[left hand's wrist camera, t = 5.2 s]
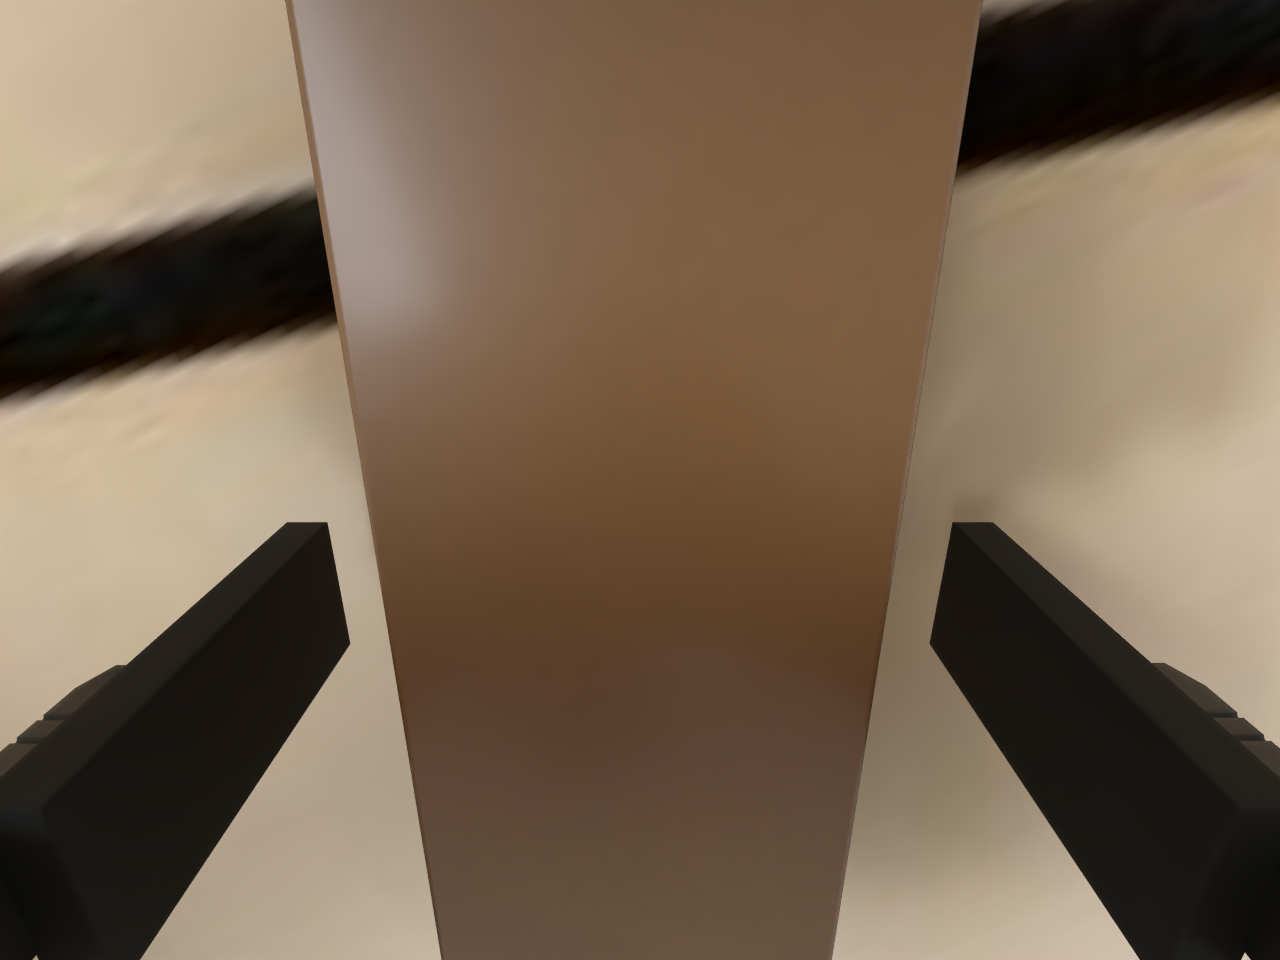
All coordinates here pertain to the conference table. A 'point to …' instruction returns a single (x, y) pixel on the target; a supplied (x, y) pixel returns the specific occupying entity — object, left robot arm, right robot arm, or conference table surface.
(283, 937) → the conference table surface
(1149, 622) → the conference table surface
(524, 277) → the post
